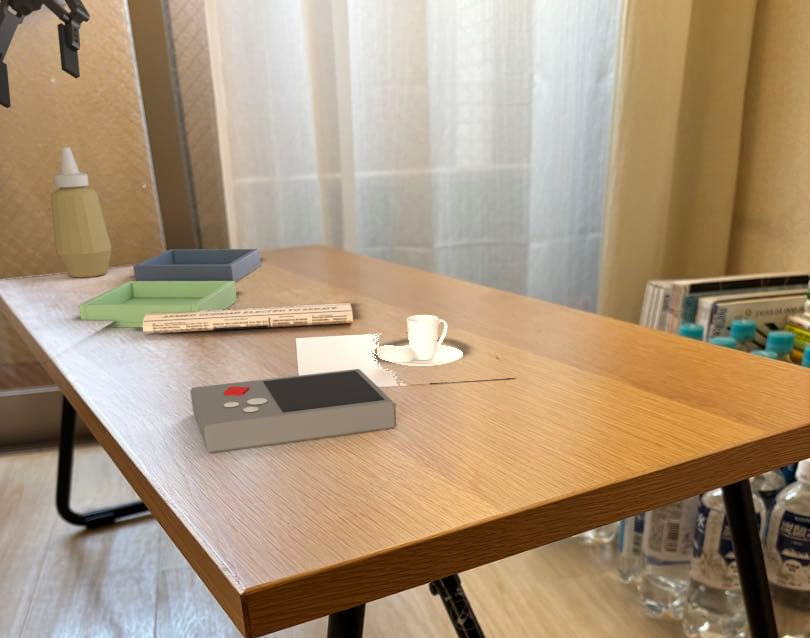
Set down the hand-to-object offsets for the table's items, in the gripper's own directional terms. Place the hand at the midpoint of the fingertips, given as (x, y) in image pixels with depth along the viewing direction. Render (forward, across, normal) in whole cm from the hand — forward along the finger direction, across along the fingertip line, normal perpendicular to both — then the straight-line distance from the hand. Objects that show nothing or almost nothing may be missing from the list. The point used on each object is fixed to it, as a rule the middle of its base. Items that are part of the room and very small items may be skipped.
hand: (35, 89), depth 130 cm
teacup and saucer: (+54, -58, +14) cm, 80 cm away
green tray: (+40, -24, +7) cm, 47 cm away
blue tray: (+27, -15, -14) cm, 34 cm away
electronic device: (+62, -56, +33) cm, 90 cm away
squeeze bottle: (+25, +2, -9) cm, 26 cm away
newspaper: (+45, -38, +8) cm, 59 cm away
